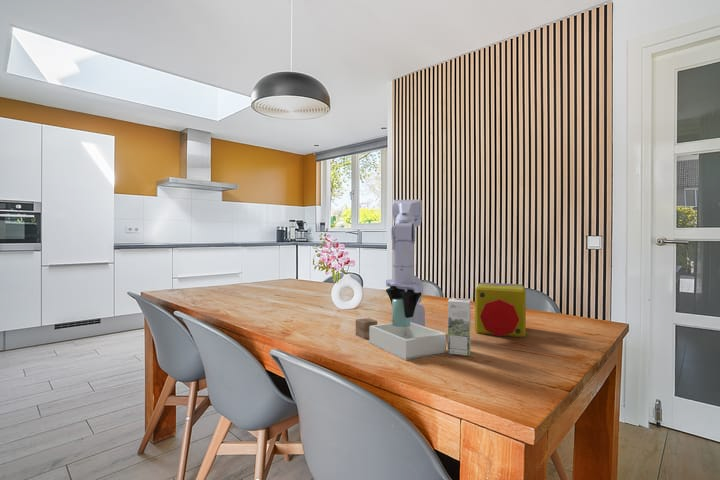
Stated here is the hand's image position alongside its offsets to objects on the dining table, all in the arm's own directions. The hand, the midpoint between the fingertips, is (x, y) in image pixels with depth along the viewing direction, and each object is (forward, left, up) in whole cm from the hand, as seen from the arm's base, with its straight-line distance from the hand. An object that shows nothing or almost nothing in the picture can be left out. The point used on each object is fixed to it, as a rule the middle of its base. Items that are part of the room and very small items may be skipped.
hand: (403, 315), depth 102 cm
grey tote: (-2, -1, -9) cm, 10 cm away
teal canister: (+1, 0, -2) cm, 3 cm away
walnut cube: (+2, -17, -10) cm, 20 cm away
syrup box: (-11, +10, -10) cm, 18 cm away
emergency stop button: (-37, +2, -10) cm, 39 cm away
